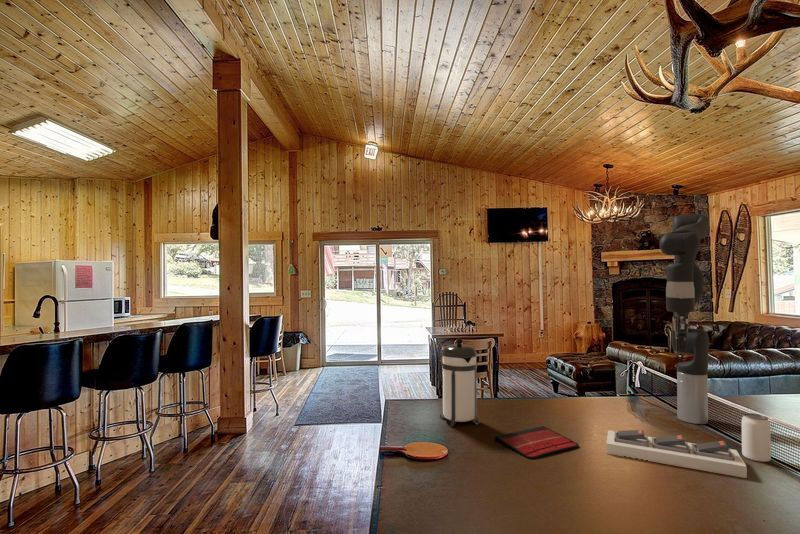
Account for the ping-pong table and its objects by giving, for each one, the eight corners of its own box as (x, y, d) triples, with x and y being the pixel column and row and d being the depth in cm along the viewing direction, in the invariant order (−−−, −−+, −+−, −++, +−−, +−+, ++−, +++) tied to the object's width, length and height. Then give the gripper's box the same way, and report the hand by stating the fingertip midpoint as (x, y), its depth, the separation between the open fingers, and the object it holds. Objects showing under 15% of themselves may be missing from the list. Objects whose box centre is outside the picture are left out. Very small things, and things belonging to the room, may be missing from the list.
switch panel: (608, 439, 138) (608, 427, 138) (736, 460, 123) (736, 447, 123) (606, 453, 128) (606, 440, 128) (746, 478, 112) (746, 463, 112)
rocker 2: (656, 441, 129) (655, 436, 129) (683, 439, 126) (682, 434, 126) (657, 446, 125) (656, 441, 125) (685, 444, 122) (683, 439, 122)
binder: (494, 435, 137) (543, 425, 147) (494, 442, 137) (542, 431, 147) (530, 456, 123) (582, 443, 132) (530, 464, 123) (581, 451, 132)
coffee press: (487, 418, 159) (487, 336, 159) (470, 431, 145) (470, 342, 146) (445, 410, 168) (445, 333, 169) (425, 421, 155) (425, 338, 155)
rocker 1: (619, 434, 133) (618, 430, 134) (644, 433, 130) (643, 429, 130) (618, 439, 129) (617, 435, 130) (644, 438, 126) (643, 434, 126)
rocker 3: (697, 448, 124) (695, 443, 124) (725, 444, 121) (723, 439, 121) (699, 454, 120) (697, 449, 120) (729, 450, 117) (727, 445, 117)
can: (776, 463, 121) (775, 420, 121) (750, 461, 122) (749, 419, 122) (762, 454, 127) (761, 413, 127) (737, 452, 128) (736, 412, 129)
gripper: (664, 294, 143) (665, 347, 143) (667, 296, 131) (668, 353, 131) (691, 295, 140) (692, 349, 139) (697, 297, 128) (698, 355, 128)
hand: (680, 351), depth 135 cm, fingers closed
